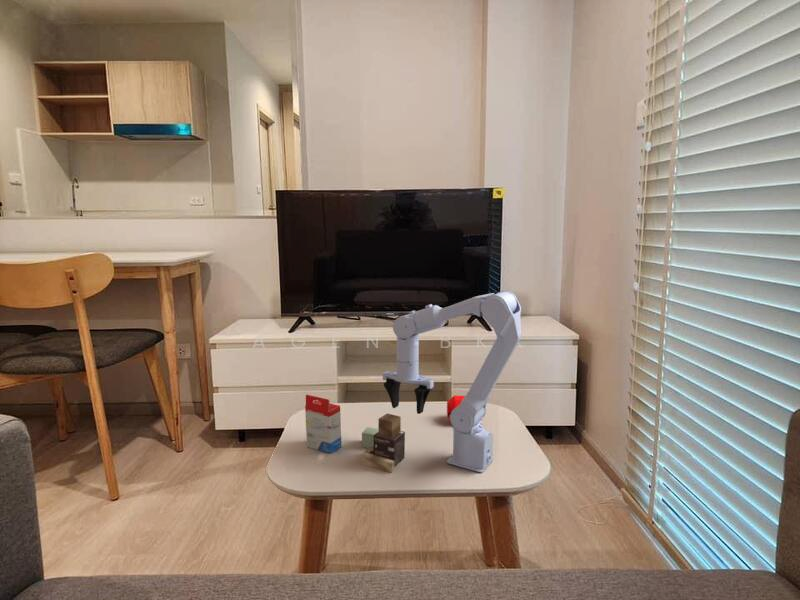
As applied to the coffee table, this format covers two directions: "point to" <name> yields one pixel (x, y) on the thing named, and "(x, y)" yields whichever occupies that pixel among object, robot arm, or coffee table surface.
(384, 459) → the corner jig
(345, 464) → the coffee table surface
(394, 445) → the box
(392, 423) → the walnut cube
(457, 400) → the red faceted polyhedron
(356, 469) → the coffee table surface
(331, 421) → the ink box
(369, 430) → the block
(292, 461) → the coffee table surface
